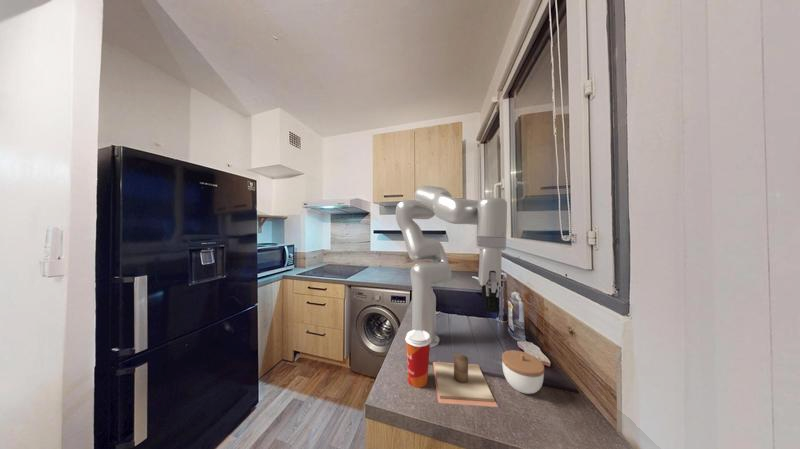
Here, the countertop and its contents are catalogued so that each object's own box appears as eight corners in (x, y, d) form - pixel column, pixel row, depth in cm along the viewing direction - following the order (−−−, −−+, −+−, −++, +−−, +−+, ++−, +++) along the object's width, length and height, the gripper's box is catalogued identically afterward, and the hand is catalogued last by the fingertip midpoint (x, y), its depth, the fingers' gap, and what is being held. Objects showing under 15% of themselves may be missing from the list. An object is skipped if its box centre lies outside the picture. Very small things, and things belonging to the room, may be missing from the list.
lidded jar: (551, 405, 56) (552, 369, 56) (507, 398, 58) (507, 363, 59) (534, 377, 67) (535, 347, 67) (497, 372, 69) (498, 342, 69)
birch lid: (434, 364, 71) (434, 344, 71) (478, 367, 70) (478, 346, 70) (439, 398, 57) (440, 372, 57) (493, 402, 56) (494, 375, 56)
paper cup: (406, 371, 68) (407, 327, 69) (431, 375, 67) (432, 330, 67) (402, 390, 61) (402, 340, 61) (429, 394, 59) (430, 343, 59)
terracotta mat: (432, 363, 73) (432, 361, 73) (478, 366, 72) (478, 364, 72) (438, 405, 56) (438, 402, 56) (497, 409, 55) (497, 406, 55)
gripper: (475, 240, 69) (473, 293, 69) (478, 245, 52) (476, 315, 53) (500, 241, 67) (499, 296, 67) (512, 247, 50) (510, 320, 50)
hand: (489, 304), depth 60 cm, fingers open, 9 cm apart
